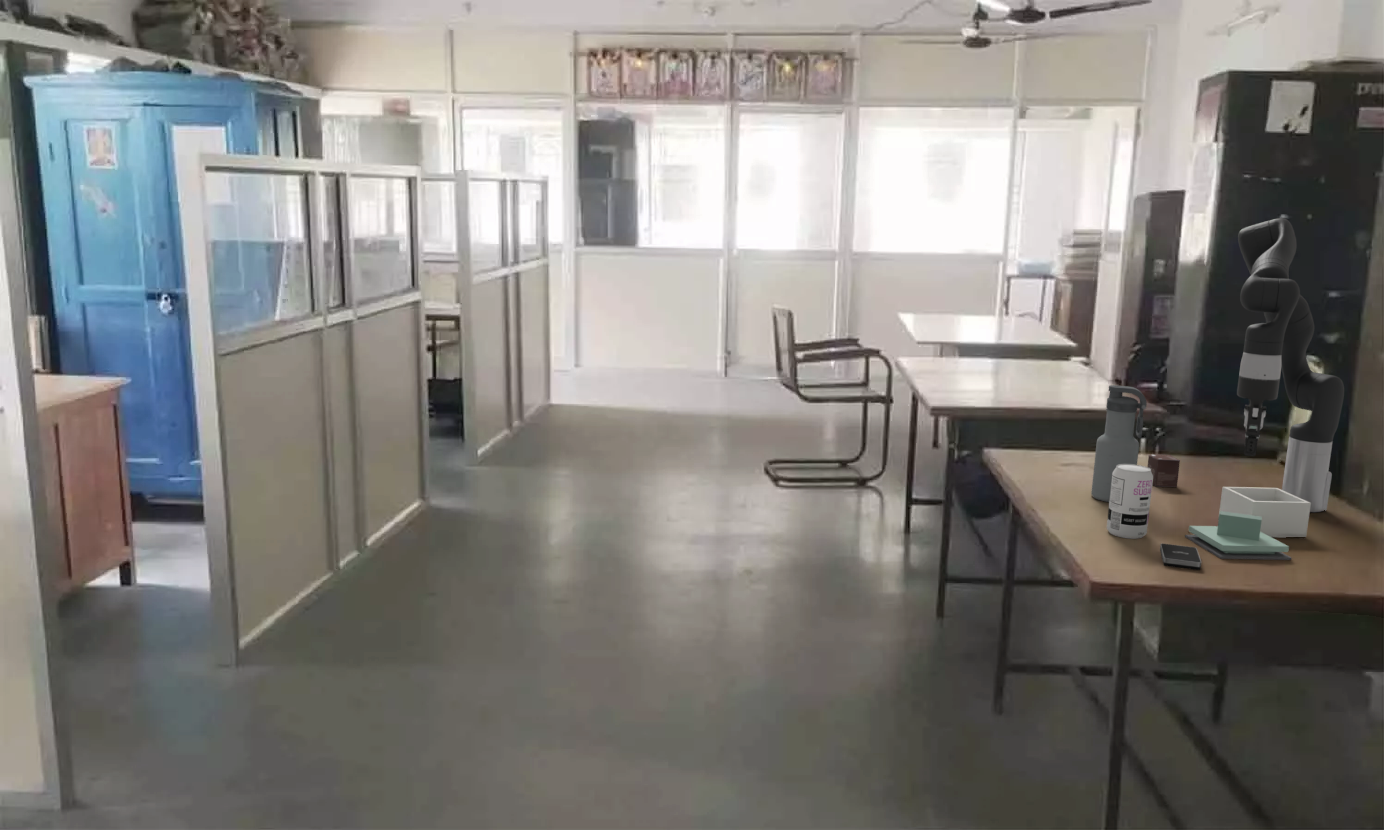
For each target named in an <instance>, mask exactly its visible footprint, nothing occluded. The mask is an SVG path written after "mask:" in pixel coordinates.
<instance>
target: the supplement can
mask: <svg viewBox="0 0 1384 830" xmlns="http://www.w3.org/2000/svg"><path fill="white" fill-rule="evenodd" d="M1152 483H1153V475H1152V473H1151V469H1150V468H1148V466H1144V465H1140V464H1137V465H1134V464H1119V465H1117V466H1116V468H1115V470H1114V471H1113V473H1112V483H1111V492H1110V501H1109V502H1108V513H1107V520H1106V530H1107V531H1108V532H1109V534H1111V535H1113V536H1114V537H1115V536H1116V537H1119V538H1123V539H1134V540H1135V539H1136V540H1137V539H1141V538H1143V537H1144V536H1146V535H1147V533H1148V524H1149V516H1150V508H1151V499H1152V492H1153V491H1152V489H1153V485H1152Z"/></svg>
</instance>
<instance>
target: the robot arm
mask: <svg viewBox="0 0 1384 830" xmlns="http://www.w3.org/2000/svg"><path fill="white" fill-rule="evenodd" d="M1237 240H1238V241H1237V242H1238V246H1239V249H1240V253H1241V255H1242V258H1243V260H1244V262H1245V265H1246V267H1247V269H1248V271H1249V275H1250V276H1249V277H1248V278H1247V279H1246V280H1245V282H1244V283H1243V285H1242V287H1241V290H1240V295H1239V296H1240V297H1239V300H1240V304H1241V306H1242V307H1243V308H1244V309H1245V310H1247V311H1249V312H1253V313H1263V314H1264V318H1265V322H1261V323H1254V324H1250V325H1249V326H1247V328H1246V330H1245V338H1244V343H1243V345H1244V346H1243V353H1242V357H1241V361H1240V364H1239V365H1240V367H1239V375H1238V382H1237V388H1236V395H1237V396H1238V397H1239V398H1242V399H1247V400H1248V404H1245V405H1244V409H1243V411H1244V412H1243V416H1244V423H1243V426H1244V427H1243V428H1245V431H1244V436H1245V440H1244V450H1243V454H1244V456H1247V457H1255V456H1256V455H1257V449H1258V448H1257V447H1258V443H1259V442H1258V441H1259V438H1260V436H1261V432H1260V431H1261V430H1262V429H1263V427H1264V420H1265V418H1266V415H1267V412H1266V411H1267V406H1263V403H1264V401H1270V402H1271V401H1274V400H1277V399H1278V396H1279V395H1278V394H1279V388H1280V382H1281V381H1280V380H1281V372H1282V378H1283V383H1284V387H1285V391H1286V395H1287V398H1288V400H1289V402H1290V403H1291V405H1292V406H1294V407H1295V408H1297V409H1301V410H1304V411H1305V410H1306V411H1310V412H1311V415H1310V418H1309V420H1308V421H1305V422H1302V423H1295V424H1293V425H1292V426H1291V427H1290V429H1289V434H1288V435H1289V436H1288V443H1287V451H1286V458H1285V464H1284V472H1283V478H1282V487H1281V490H1283V491H1285V492H1287V493H1290V494H1292V495H1294V496H1296V497H1299V498H1301V499H1303V500H1305V501H1308V502H1310V503H1311V506H1310V513H1321V512H1326V510H1328V503H1329V496H1330V489H1331V483H1332V476H1333V474H1332V472H1331V471H1329V470H1330V469H1329V468H1330V461H1331V456H1332V455H1331V454H1332V448H1333V442H1334V441H1333V440H1334V437H1335V433H1336V432H1337V429H1338V427H1339V423H1340V418H1341V413H1342V408H1343V403H1344V398H1345V397H1344V396H1345V386H1344V381H1343V380H1342V379H1341V378H1340V377H1338V376H1336V375H1332V374H1327V373H1319V372H1314V371H1312V370H1311V368H1310V365H1309V363H1308V360H1307V353H1306V352H1307V349H1308V347H1309V346H1310V344H1311V343H1310V342H1311V341H1312V338H1313V336H1314V333H1315V323H1314V318H1313V315H1312V312H1311V309H1310V306H1309V303H1308V302H1307V301H1308V300H1306V299H1305V298H1304V296H1302V295H1301V290H1300V287H1299V284H1298V283H1297V282H1296V280H1294V279H1291V278H1289V277H1290V276H1289V275H1290V273H1289V271H1290V270H1289V268H1290V265H1292V262H1293V260H1294V258H1295V256H1296V253H1297V252H1296V251H1297V247H1298V246H1297V237H1296V234H1295V229H1294V228H1293V225H1292V223H1291V222H1290V221H1289V220H1288V219H1286V218H1284V217H1281V218H1274V219H1270V220H1266V221H1263V222H1259V223H1255V224H1252V225H1249V226H1245V227H1243V228H1242V229H1241V230H1239V232H1238V236H1237ZM1324 510H1325V511H1324Z"/></svg>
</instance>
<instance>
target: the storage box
mask: <svg viewBox="0 0 1384 830" xmlns="http://www.w3.org/2000/svg"><path fill="white" fill-rule="evenodd" d="M1220 496H1221V497H1220V503H1219V512H1218V514H1219V513H1220V511H1224V512H1231V513H1239V514H1246V515H1253V516H1260V517H1262V521H1261V529H1260V532H1262V533H1264V534H1266V535H1268V536H1270V537H1272V538H1286V537H1306V538H1307V533H1308V525H1309V521H1310V513H1311V512H1310V506H1311V503H1310V502H1308V501H1305V500H1303V499H1301V498H1299V497H1296V496H1294V495H1292V494H1290V493H1287V492H1285V491H1283V490H1282V488H1278V487H1254V486H1253V487H1251V486H1250V487H1249V486H1248V487H1247V486H1222V489H1221V495H1220ZM1217 520H1218V521H1219V517H1218V518H1217Z"/></svg>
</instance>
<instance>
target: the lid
mask: <svg viewBox="0 0 1384 830" xmlns="http://www.w3.org/2000/svg"><path fill="white" fill-rule="evenodd" d="M1218 518H1219V520H1218V521H1217V526H1216V525H1189V526H1188V532H1190V533H1191V534H1192V535H1196V536H1198V537H1200V538H1201V539H1202V540H1204V541H1206V542H1207V543H1209V544H1211V545H1212V546H1214V547H1216V548H1218V549H1219V550H1221V551H1223V552H1224V553H1244V554H1275V552H1282V553H1289V549H1290V546H1289V545H1286V544H1285V543H1284V542H1281V541H1279V540H1277V539H1275V537H1270V536H1268V535H1266V534H1264V533H1262V532H1260V529H1261V521H1262V517H1260V516H1253V515H1246V514H1239V513H1231V512H1224V511H1220V513H1219V512H1218Z"/></svg>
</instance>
